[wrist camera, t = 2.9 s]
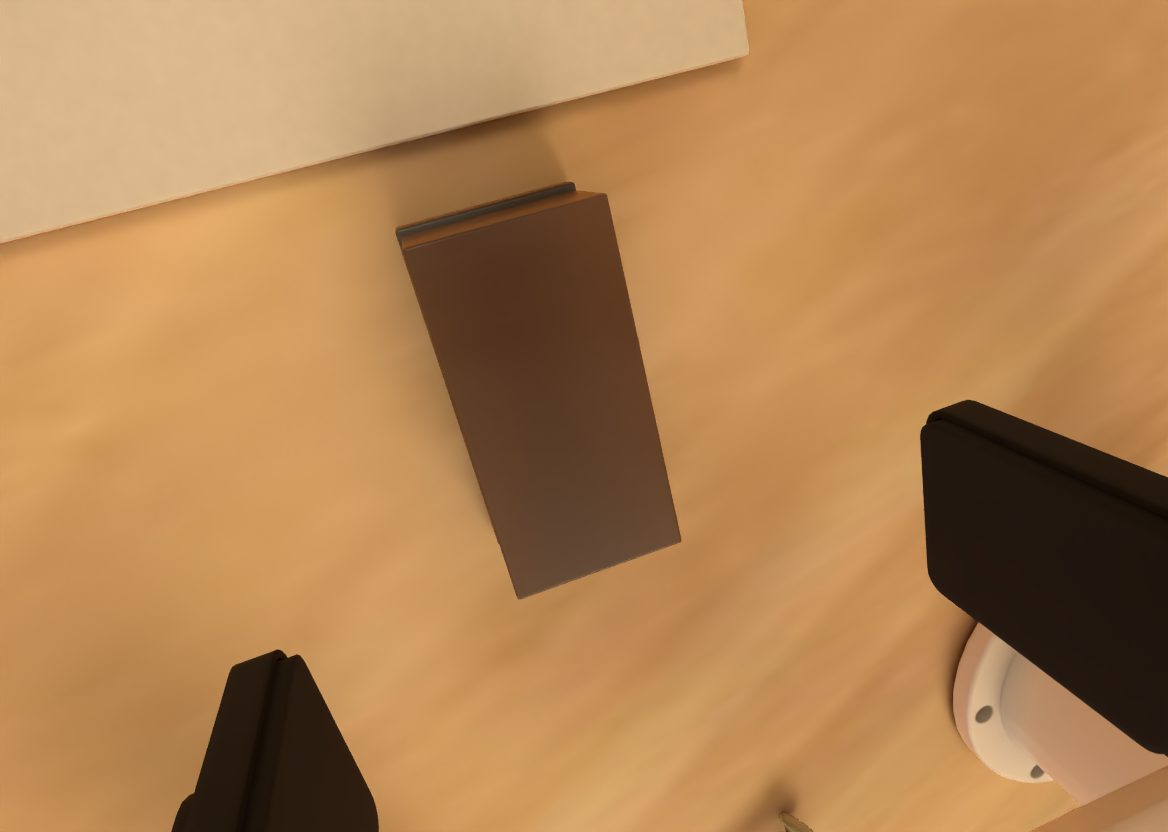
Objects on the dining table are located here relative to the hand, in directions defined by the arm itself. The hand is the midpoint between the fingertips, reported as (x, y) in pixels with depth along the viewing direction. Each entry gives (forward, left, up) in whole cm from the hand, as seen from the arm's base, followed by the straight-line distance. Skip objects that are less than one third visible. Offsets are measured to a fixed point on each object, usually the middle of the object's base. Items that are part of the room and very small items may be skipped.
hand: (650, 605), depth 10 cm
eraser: (-1, 0, -12) cm, 12 cm away
